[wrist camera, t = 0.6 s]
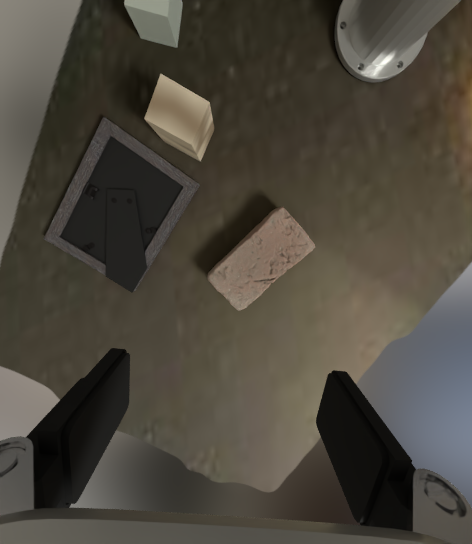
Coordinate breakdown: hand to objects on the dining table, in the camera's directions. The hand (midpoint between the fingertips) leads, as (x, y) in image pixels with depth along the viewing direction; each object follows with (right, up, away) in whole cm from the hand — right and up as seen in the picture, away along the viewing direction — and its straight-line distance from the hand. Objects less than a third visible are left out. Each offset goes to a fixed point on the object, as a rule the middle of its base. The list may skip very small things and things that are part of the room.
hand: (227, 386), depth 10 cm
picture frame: (-18, +15, +26) cm, 35 cm away
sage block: (-10, +39, +20) cm, 45 cm away
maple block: (-7, +26, +23) cm, 35 cm away
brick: (+4, +8, +28) cm, 30 cm away
